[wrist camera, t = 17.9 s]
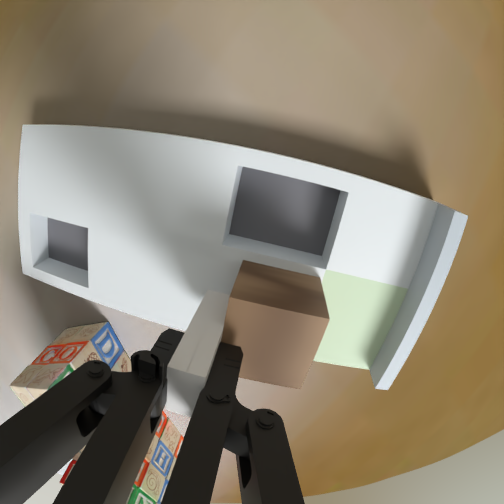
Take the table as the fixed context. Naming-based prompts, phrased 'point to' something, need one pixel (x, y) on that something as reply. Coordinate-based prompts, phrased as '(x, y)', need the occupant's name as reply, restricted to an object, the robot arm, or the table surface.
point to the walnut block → (275, 323)
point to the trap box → (230, 233)
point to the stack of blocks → (111, 352)
